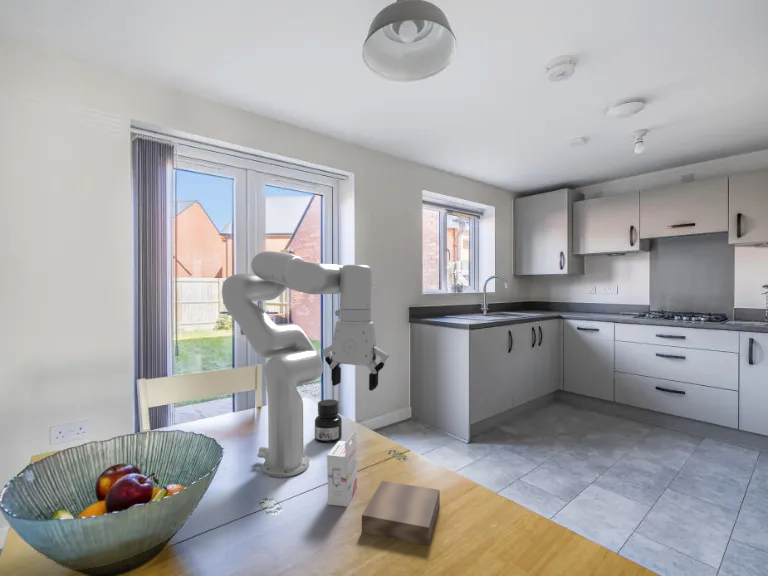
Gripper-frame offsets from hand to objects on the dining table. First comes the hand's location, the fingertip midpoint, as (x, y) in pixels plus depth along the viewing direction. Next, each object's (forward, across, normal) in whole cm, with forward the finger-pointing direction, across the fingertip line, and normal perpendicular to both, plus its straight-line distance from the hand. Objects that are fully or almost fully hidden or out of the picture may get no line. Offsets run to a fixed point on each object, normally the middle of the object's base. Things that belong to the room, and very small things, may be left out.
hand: (354, 386), depth 91 cm
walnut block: (+26, +14, -5) cm, 30 cm away
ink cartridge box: (+27, -2, -2) cm, 27 cm away
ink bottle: (+27, -22, +27) cm, 44 cm away
